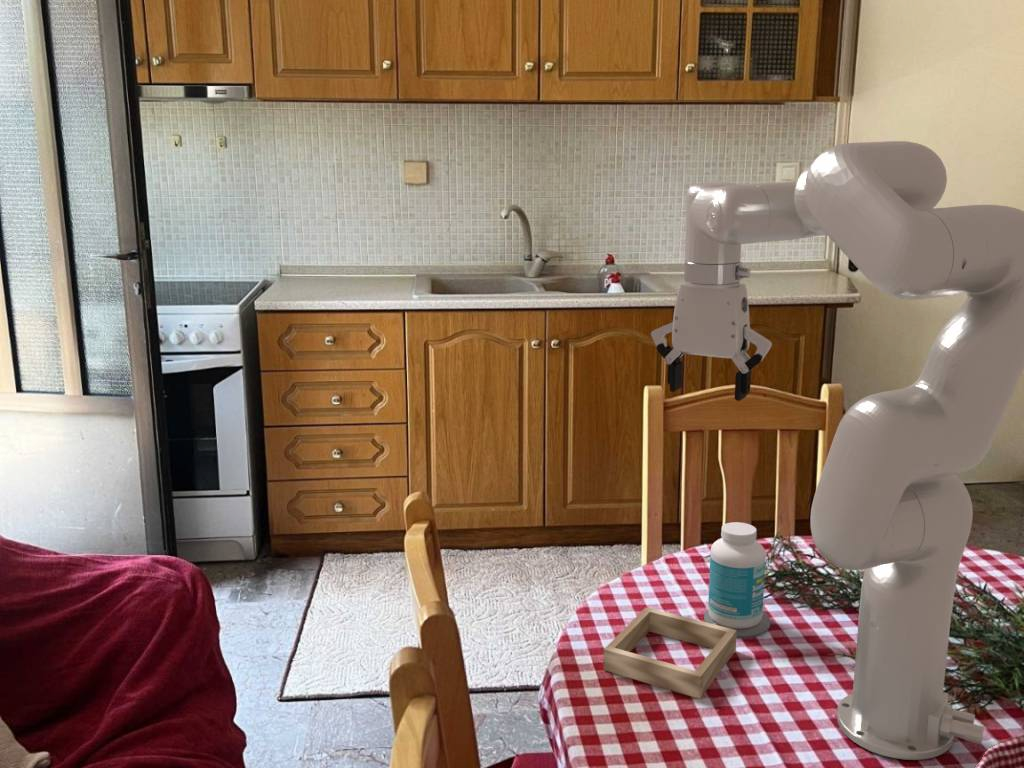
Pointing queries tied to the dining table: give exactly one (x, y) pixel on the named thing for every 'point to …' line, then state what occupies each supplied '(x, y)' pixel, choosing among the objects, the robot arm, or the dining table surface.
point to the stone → (747, 632)
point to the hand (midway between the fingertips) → (707, 394)
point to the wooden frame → (665, 673)
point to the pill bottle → (736, 577)
